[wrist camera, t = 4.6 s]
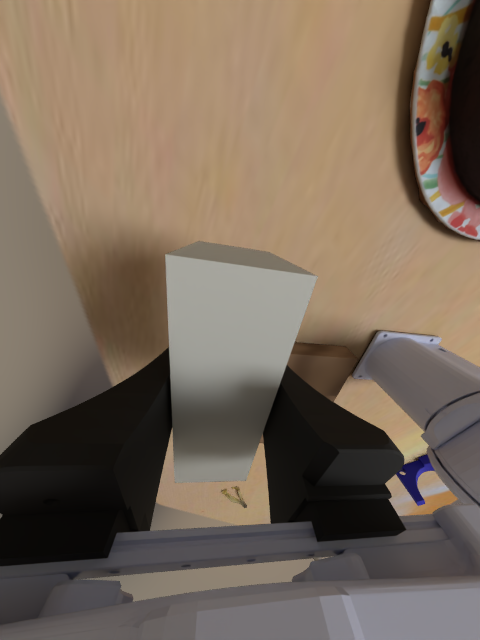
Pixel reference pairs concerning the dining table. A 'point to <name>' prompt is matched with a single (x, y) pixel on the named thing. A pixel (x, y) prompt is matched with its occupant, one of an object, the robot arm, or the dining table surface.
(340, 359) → the notched shelf
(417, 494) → the cable clip
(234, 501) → the tongs
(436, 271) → the dining table surface
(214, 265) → the grey rubber bar
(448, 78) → the chocolate cake
